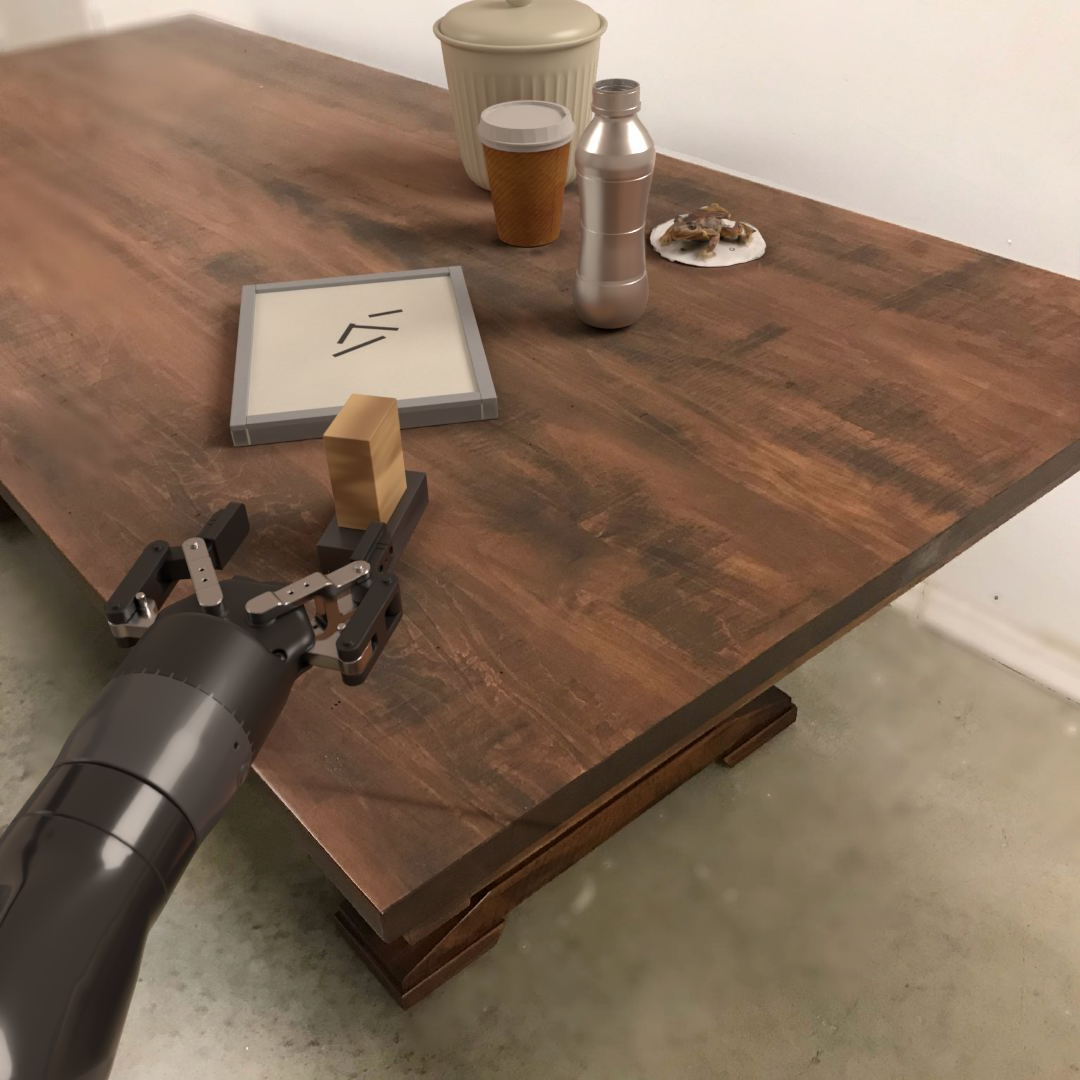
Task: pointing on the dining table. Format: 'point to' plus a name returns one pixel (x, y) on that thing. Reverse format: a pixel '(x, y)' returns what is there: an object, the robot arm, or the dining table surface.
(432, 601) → the dining table surface
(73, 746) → the robot arm
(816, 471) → the dining table surface
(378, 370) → the whiteboard
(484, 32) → the canister
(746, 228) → the frog figurine
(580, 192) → the silver bottle
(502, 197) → the disposable coffee cup
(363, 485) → the eraser
